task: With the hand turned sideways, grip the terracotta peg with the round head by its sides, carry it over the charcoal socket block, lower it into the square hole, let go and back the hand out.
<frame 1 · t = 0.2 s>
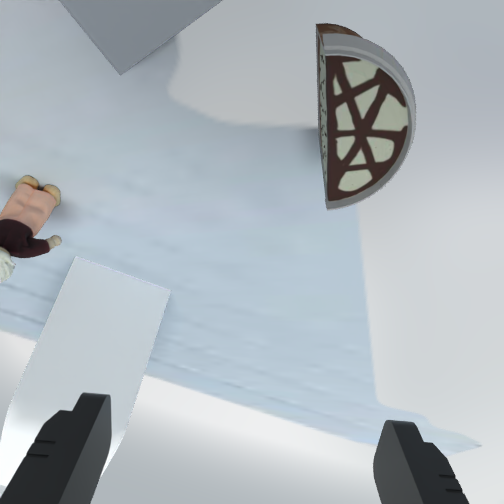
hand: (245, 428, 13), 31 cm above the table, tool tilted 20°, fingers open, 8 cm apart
food container: (354, 79, 36), on the table
milk: (113, 299, 56), on the table
grandmother figurine: (45, 191, 45), on the table
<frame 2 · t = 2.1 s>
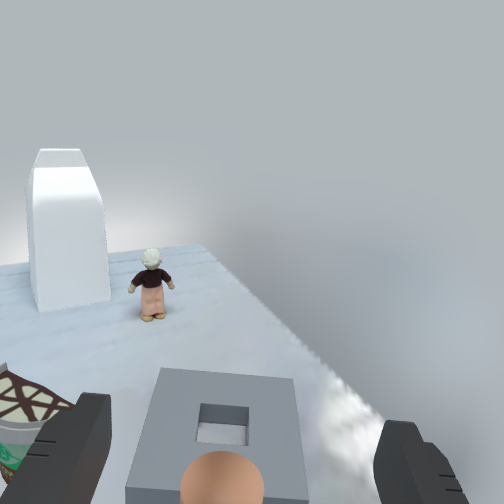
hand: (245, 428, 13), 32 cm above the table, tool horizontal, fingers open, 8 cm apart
food container: (27, 475, 45), on the table
milk: (70, 292, 80), on the table
grandmother figurine: (150, 317, 75), on the table
socket block: (221, 442, 52), on the table
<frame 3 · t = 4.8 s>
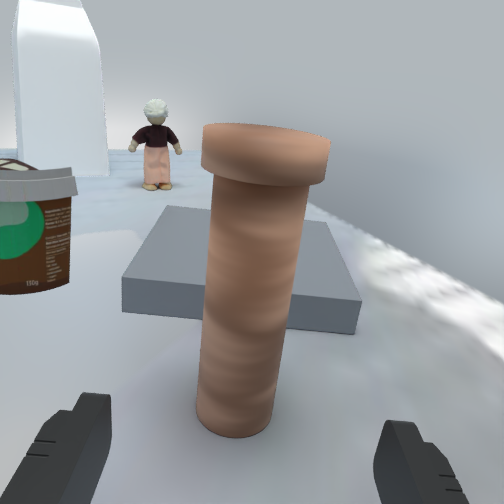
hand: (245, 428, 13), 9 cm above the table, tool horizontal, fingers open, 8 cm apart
headed peg: (234, 407, 25), on the table
milk: (63, 168, 70), on the table
grandmother figurine: (154, 189, 65), on the table
socket block: (242, 272, 42), on the table
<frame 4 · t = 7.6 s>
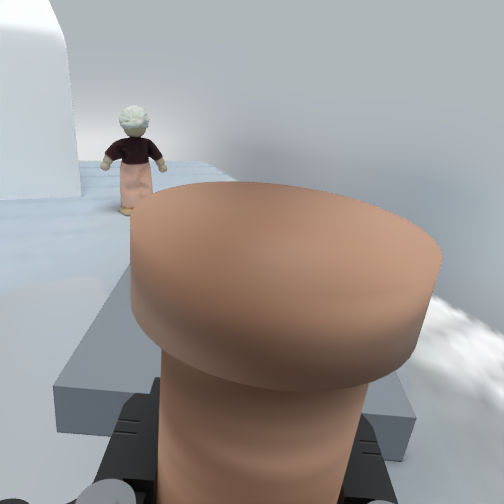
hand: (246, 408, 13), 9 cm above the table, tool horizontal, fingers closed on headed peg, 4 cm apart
milk: (27, 187, 59), on the table
grandmother figurine: (133, 213, 54), on the table
socket block: (238, 344, 31), on the table
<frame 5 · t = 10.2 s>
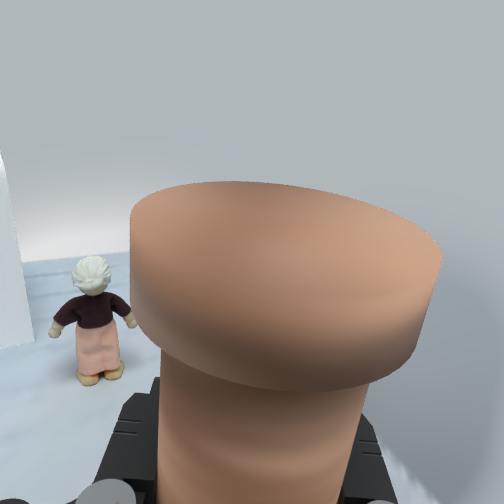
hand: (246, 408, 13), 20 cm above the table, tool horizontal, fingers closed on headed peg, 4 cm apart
grandmother figurine: (95, 376, 43), on the table
when the fingers open (10 cm above the table, at t = 13.0 s): headed peg drops 1 cm, resting in socket block.
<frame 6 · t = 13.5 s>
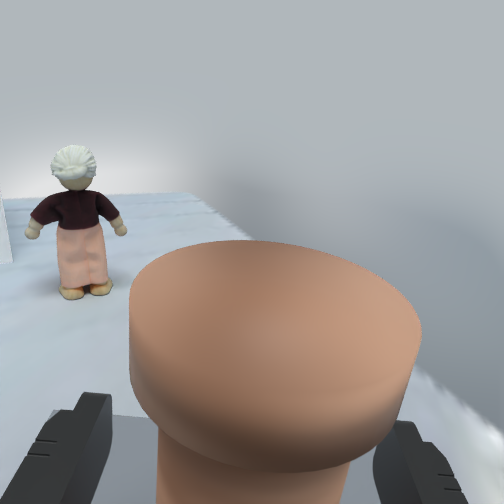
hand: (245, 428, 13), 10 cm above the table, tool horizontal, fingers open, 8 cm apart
grandmother figurine: (80, 292, 38), on the table
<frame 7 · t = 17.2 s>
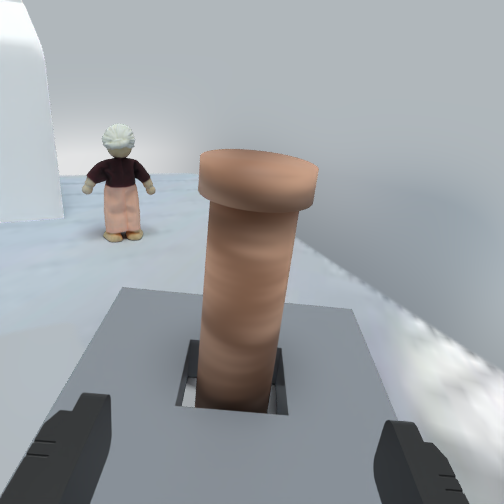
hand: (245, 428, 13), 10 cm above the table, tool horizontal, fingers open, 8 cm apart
headed peg: (230, 413, 27), resting in socket block
milk: (5, 208, 55), on the table
grandmother figurine: (119, 238, 50), on the table
socket block: (229, 412, 27), on the table
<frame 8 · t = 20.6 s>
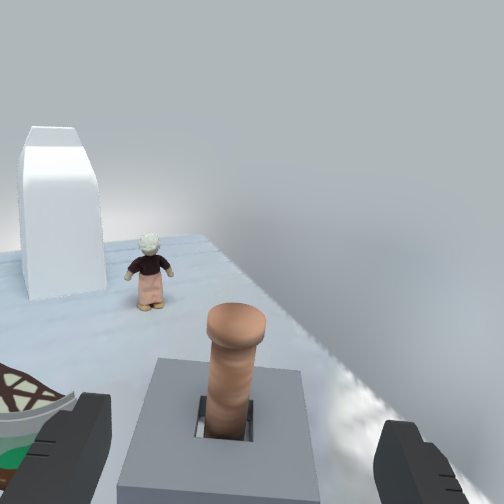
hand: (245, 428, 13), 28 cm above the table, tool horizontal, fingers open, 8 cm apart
food container: (10, 472, 41), on the table
headed peg: (223, 438, 48), resting in socket block
milk: (64, 280, 76), on the table
grandmother figurine: (148, 306, 71), on the table
socket block: (223, 438, 48), on the table
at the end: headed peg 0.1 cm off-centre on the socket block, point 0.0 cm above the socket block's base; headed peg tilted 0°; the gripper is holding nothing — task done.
